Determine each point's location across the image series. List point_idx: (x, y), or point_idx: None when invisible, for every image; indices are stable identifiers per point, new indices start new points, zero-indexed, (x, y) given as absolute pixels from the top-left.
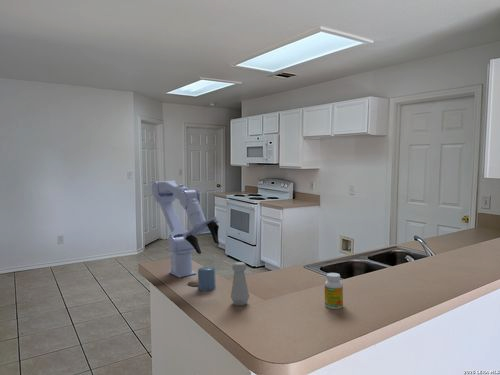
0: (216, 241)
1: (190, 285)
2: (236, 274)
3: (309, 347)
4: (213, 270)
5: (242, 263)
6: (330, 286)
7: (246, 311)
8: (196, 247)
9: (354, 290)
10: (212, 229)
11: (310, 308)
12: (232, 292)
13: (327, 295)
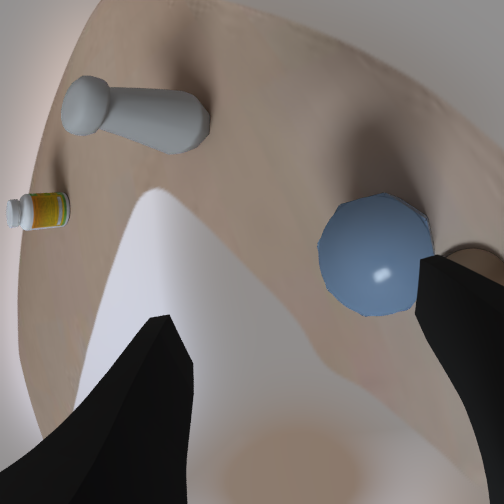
0: (146, 322)
1: (489, 252)
2: (111, 88)
3: (80, 48)
4: (320, 248)
5: (62, 105)
6: (26, 194)
7: (165, 88)
8: (459, 288)
9: (61, 303)
10: (54, 442)
11: (81, 179)
12: (177, 92)
13: (45, 195)
